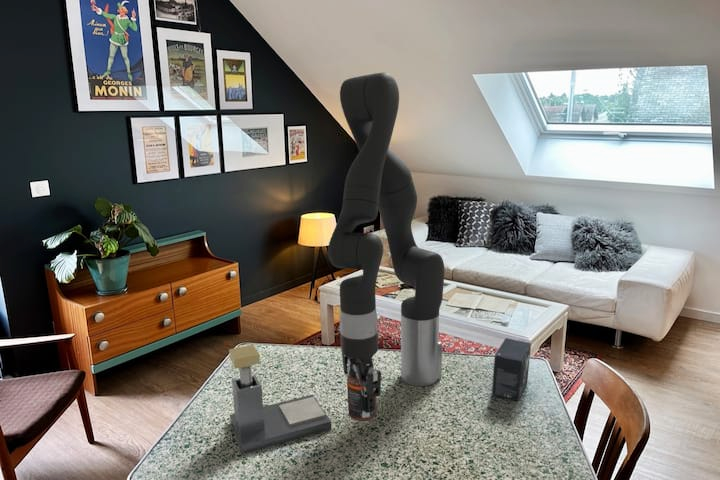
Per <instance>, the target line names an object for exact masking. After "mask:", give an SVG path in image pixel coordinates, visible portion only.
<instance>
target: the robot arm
mask: <svg viewBox="0 0 720 480" xmlns="http://www.w3.org/2000/svg"><path fill="white" fill-rule="evenodd" d="M339 100H340V105H341V110H342V112H343V115H344V118H345V121H346V123H347V125H348V127H349V130H350V132H351V135H352V137H353V138H354V142H355V144H356V146H357V148H358V151H359V153H357V155H356V157H355V159H354V160H353V162H352V164H351V165H350V167H349V169H348V172H347V174H346V177H345V180H344V181H345V182H344V188H343V198H342V206H341V211H340V214H339V217H338V219H337V223H336V225H335V227H334V230H333V233H332V234H331V237H330V240H329V242H328V246H327V257H328V259H329V262H330V263H331V265H332V266H333V267H335V268H338V269H349V270H350V269H351V270H362V275H358V276H353V277H348V278H345V279H344V280H342V281H341V282H340V284H339V300H340V301H339V302H340V303H339V306H340V313H339V329H340V333H339V334H340V346H341V347H340V349H341V356H342V357H341V358H342V359H341V360H342V366H343V373H344V375H347V377H348V375H349V374H350V373H352V372H351V366H352V365H353V368H354V372H355V373H356V376H357V381H358V385H359V386H361V388H362V393H363V410H364V412H365V413H369V412H372V411H374V409H375V404H374V397H376V398H377V397H379V396H381V386H382V385H381V384H382V382H381V381H382V372H381V370H380V369H378V370H376V369H374V368H375V365H374V362H373V356H375V355H376V353H377V352H379V334H378V333H379V331H378V330H379V327H378V326H379V325H378V314H377V307H376V304H377V303H376V302H377V301H376V285H377V279H378V276H379V270H380V267H381V263H382V260H383V255H384V244H383V242H382V239H381V238H380V237H379V235H377V234H375V233H372V232H354V230H355V228H357V226H359V225H361V224H366V223H367V224H368V223H370V222H374V221H375V220H376V219H377V217H378V213H379V215H380V218H381V221H382V225H383V229H384V232H385V234H386V235H385V236H386V240H387V244H388V249H389V253H390V260H391V263H392V268H393V272H394V274H395V276H396V279H398V280H399V281H400V282H401V283H403V284H405V285H408V286H411V287H414V288H415V292H414V296H411V297H407V298H405V299H404V300H402V302H401V305H400V365H401V366H400V377H401V380H402V381H403V382H404V383H406V384H408V385H411V386H415V387H426V386H427V387H428V386H431V385H433V384H435V383H436V382H437V381H439V380H441V379H442V374H443V371H442V366H443V363H442V362H443V344H442V342H441V341H440V337H439V336H440V308H441V305H442V303H443V296H444V282H445V263H444V260H443V257H442V256H441V254H439V253H438V252H434V251H433V250H428V249H424V248H421V247H418V245H417V243H416V241H415V237H414V234H413V231H412V221H413V219H414V216H415V213H416V211H417V210H416V209H417V205H418V195H417V190H416V186H415V183H414V180H413V177H412V173H411V171H410V169H409V167H408V166H407V165H406V163H405V162H404V161H403V160H402V159H401V157H399V156H398V155H397V154H396V153H395V151H393V150H392V149H391V148H390V144H391V140H392V137H393V133H394V132H393V131H394V128H395V124H396V120H397V116H398V111H399V105H400V91H399V87H398V84H397V81H396V79H395V78H394V77H393V75H391V74H390V73H388V72H378V73H377V72H375V73H370V74H366V75H365V74H364V75H360V76H355V77H350V78H347V79H345V80H344V81H343V82H342V84H341V86H340V90H339ZM347 377H346V378H347ZM363 378H366V379H367V380H366V381H362V379H363ZM366 385H367V391H366Z"/></svg>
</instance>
